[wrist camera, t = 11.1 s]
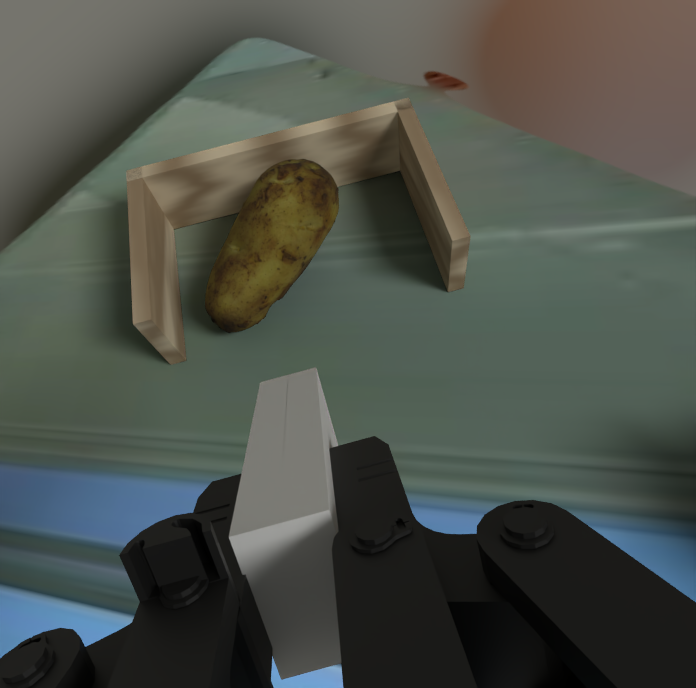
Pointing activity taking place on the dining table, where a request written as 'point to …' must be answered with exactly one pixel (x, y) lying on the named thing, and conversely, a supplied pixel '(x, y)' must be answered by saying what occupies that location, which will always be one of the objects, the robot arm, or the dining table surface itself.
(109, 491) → the dining table surface
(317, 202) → the potato
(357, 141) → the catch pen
